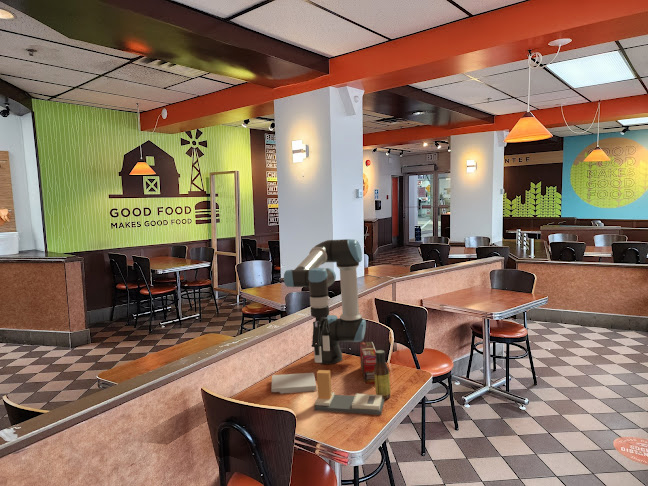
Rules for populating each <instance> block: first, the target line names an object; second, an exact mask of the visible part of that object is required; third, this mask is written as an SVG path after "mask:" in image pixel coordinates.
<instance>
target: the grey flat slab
mask: <svg viewBox="0 0 648 486" xmlns="http://www.w3.org/2000/svg"><path fill="white" fill-rule="evenodd" d="M316 382H317V381H316V378H315V372H303V373H289V374H288V373H287V374H273V375H271V388H270V389H271V393H279V394H280V395H283V394H294V393H295V394H297V393H305V392H306V393H307V392H312V391H313V392H316V391H317V383H316Z"/></svg>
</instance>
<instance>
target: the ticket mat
mask: <svg viewBox="0 0 648 486" xmlns="http://www.w3.org/2000/svg"><path fill="white" fill-rule="evenodd" d="M384 405H385V399H384V398H383V397H382V395H376V394H373V393H372V394H369V393H355V395H345V394H335V396H334V398H333V400H332V402H331V404H330V406H322V405H315V404H314V407H313V409H314V411H317V412H318V411H319V412H332V413H333V412H334V413H346V414H348V413H349V414H360V415H361V414H364V415H375V416H381V415H382V413H383V408H384Z"/></svg>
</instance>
